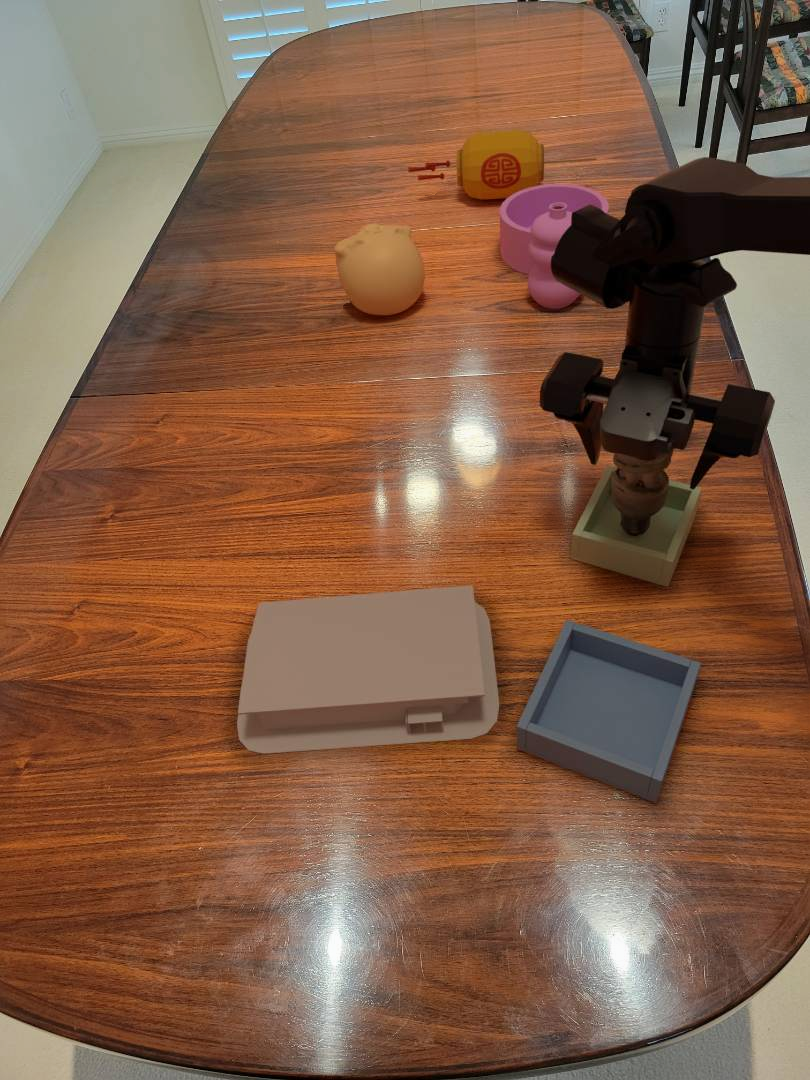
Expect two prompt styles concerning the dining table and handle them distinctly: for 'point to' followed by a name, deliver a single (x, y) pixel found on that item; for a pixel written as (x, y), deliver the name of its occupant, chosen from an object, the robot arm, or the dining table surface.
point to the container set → (542, 235)
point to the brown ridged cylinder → (639, 490)
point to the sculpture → (381, 269)
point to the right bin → (635, 555)
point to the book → (368, 671)
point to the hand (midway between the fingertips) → (642, 473)
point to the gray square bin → (609, 709)
